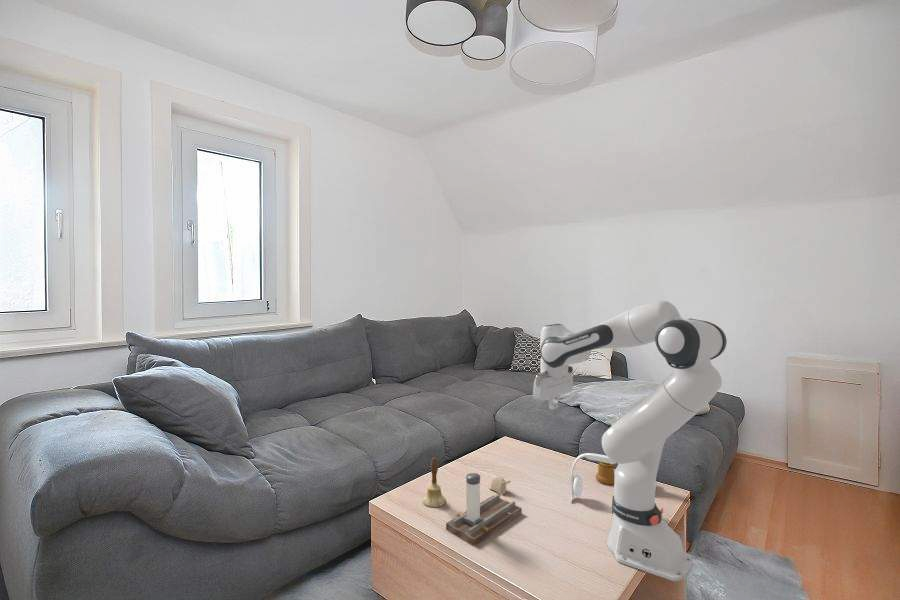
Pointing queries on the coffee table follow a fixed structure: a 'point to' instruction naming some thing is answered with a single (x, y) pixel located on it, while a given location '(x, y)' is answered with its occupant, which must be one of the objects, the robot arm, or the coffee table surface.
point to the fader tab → (472, 499)
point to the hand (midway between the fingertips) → (553, 408)
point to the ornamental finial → (605, 473)
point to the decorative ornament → (499, 485)
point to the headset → (577, 481)
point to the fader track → (485, 520)
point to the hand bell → (434, 489)
